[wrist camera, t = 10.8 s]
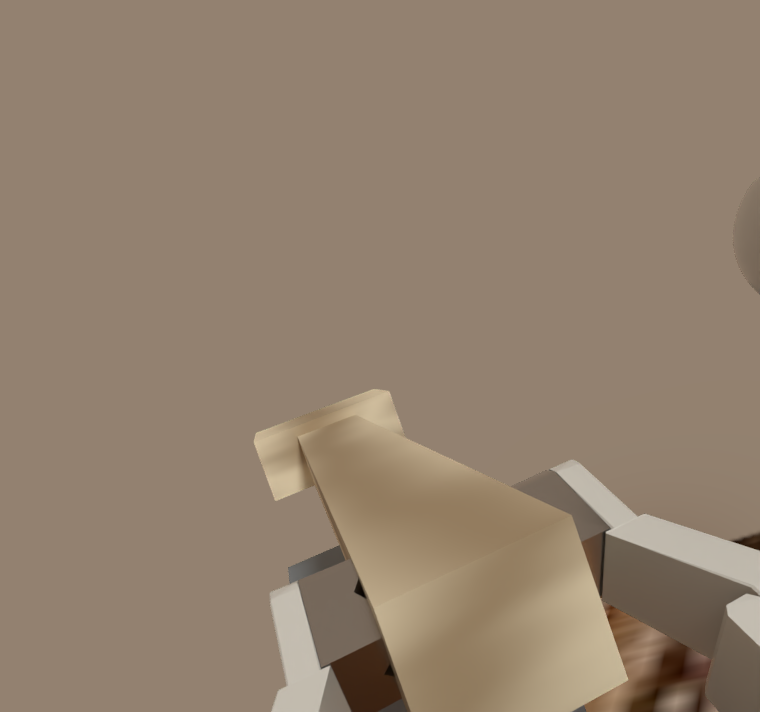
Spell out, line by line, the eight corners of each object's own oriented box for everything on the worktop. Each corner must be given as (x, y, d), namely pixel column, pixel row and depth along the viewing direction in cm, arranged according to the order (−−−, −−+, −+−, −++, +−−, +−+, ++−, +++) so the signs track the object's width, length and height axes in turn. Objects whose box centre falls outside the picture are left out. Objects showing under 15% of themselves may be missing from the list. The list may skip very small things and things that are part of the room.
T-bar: (390, 437, 30) (373, 388, 30) (738, 618, 8) (676, 430, 8) (274, 483, 29) (255, 433, 29) (290, 869, 6) (205, 641, 6)
